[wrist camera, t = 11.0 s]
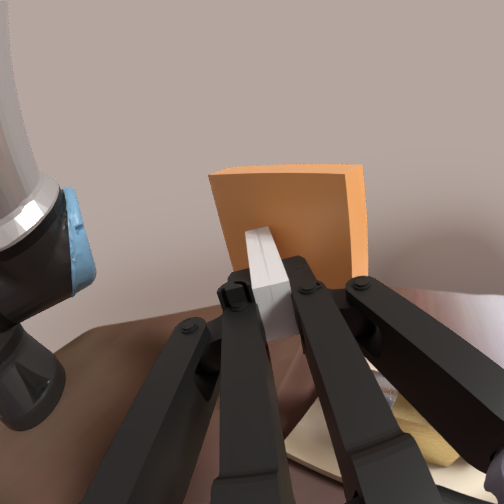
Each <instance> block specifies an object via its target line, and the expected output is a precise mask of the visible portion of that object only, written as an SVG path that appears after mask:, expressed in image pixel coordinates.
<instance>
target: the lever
mask: <svg viewBox="0 0 504 504" xmlns="http://www.w3.org/2000/svg"><path fill="white" fill-rule="evenodd" d="M208 177H209V181H210V184H211V188H212V192H213V196H214V200H215V204H216V207H217V211H218V215H219V219H220V223H221V226H222V230H223V234H224V238H225V241H226V245H227V248H228V252H229V256H230V260H231V263H232V267H233V270H234V272H235V271H239V270H243V269H247V268H249V260H248V252H247V244H246V236H245V231H249V230H253V229H257V228H262V227H266V226H268V227H269V230H270V232H271V235H272V237H273V240H274V242H275V245H276V248H277V250H278V253H279V255H280V258H281V259H285V258H289V257H293V256H297V255H299V256H301V257H303V258H305V259H306V261H307V263H308V265H309V266H310V268H311V270H312V272H313V274H314V275H315V277H316V279H317V280H318V281H321V282H323V283H324V284H325V286H326V287H327V288H328V289H345V284H346V283H347V281H348V280H350V279H351V278H354V277H357V276H368V234H367V212H366V198H365V185H364V174H363V165H351V164H350V165H348V164H285V165H284V164H283V165H257V166H239V167H229V168H226V169H223V170H221V171H218V172H215V173H212V174H210V175H208Z"/></svg>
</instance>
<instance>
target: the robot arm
mask: <svg viewBox="0 0 504 504" xmlns="http://www.w3.org/2000/svg"><path fill="white" fill-rule="evenodd" d="M245 236H246V244H247V252H248V260H249V268H247V269H243V270H239V271H235V272H232V273H231V274H230V276H229V277H228V282H227V283H225V284H223V285H222V286H221V287H220V288H219V289H218V290H217V295H218V298H219V301H220V303H221V306H222V309H223V314H222V315H221V316H220V317H218V318H216V319H214V320H212V321H210V322H208V323H206V322H205V320H204V319H202V318H200V317H192V318H188V319H185V320H183V321H182V322H180V323H179V324H178V325H177V326H176V327H175V329H174V331H173V332H172V334H171V336H170V338H169V339H168V341H167V343H166V345H165V346H164V348H163V350H162V352H161V353H160V355H159V357H158V359H157V360H156V362H155V364H154V366H153V368H152V369H151V371H150V373H149V375H148V377H147V378H146V380H145V382H144V384H143V386H142V387H141V389H140V391H139V393H138V395H137V397H136V398H135V400H134V402H133V404H132V406H131V408H130V410H129V411H128V413H127V415H126V417H125V419H124V421H123V423H122V424H121V426H120V428H119V430H118V432H117V434H116V436H115V438H114V440H113V442H112V444H111V445H110V447H109V449H108V451H107V453H106V455H105V457H104V459H103V461H102V463H101V465H100V467H99V469H98V471H97V473H96V475H95V477H94V479H93V481H92V483H91V485H90V487H89V489H88V491H87V493H86V495H85V497H84V499H83V500H82V501H81V502H80V503H79V504H183V501H184V498H185V495H186V492H187V489H188V486H189V483H190V480H191V477H192V474H193V471H194V468H195V465H196V462H197V459H198V456H199V453H200V450H201V447H202V444H203V441H204V438H205V435H206V432H207V429H208V426H209V423H210V419H211V416H212V413H213V410H214V407H215V404H216V401H217V398H218V395H219V392H220V471H219V476H218V477H217V478H216V479H215V480H214V481H213V483H212V488H211V504H296V503H295V499H294V495H293V490H292V485H291V479H290V473H289V466H288V460H287V454H286V448H285V442H284V436H283V430H282V424H281V418H280V412H279V406H278V400H277V394H276V388H275V382H274V376H273V370H272V364H271V358H270V352H269V348H268V344H267V342H268V341H272V340H276V339H281V338H285V337H289V336H293V335H297V334H299V333H300V336H301V342H302V348H303V353H304V354H305V355H306V358H307V361H308V364H309V368H310V371H311V374H312V377H313V381H314V384H315V387H316V391H317V394H318V397H319V401H320V404H321V407H322V411H323V414H324V418H325V421H326V424H327V428H328V431H329V435H330V438H331V442H332V445H333V449H334V452H335V456H336V459H337V463H338V466H339V470H340V474H341V477H342V481H343V487H344V493H345V498H346V502H347V503H345V504H495V503H492V502H488V501H485V500H481V499H478V498H475V497H472V496H469V495H466V494H463V493H460V492H457V491H454V490H452V489H449V488H446V487H444V486H441V485H437V484H435V482H434V480H433V477H432V475H431V473H430V470H429V468H428V466H427V464H426V461H425V459H424V457H423V455H422V453H421V451H420V448H419V446H418V444H417V442H416V441H415V439H414V437H413V436H412V435H411V434H410V433H406V432H403V431H402V430H401V429H400V427H399V425H398V423H397V421H396V419H395V417H394V414H393V412H392V410H391V408H390V406H389V404H388V402H387V400H386V398H385V396H384V394H383V392H382V390H381V388H380V386H379V384H378V382H377V380H376V378H375V376H374V374H373V372H372V370H371V368H370V366H369V364H368V362H367V360H368V361H369V362H370V363H371V364H372V365H373V366H374V367H375V368H376V369H377V370H378V371H379V372H380V373H381V374H382V375H383V376H384V377H385V378H386V379H387V380H388V381H389V383H390V384H391V385H392V386H393V387H394V388H395V389H396V390H397V391H398V392H399V393H400V394H401V395H402V396H403V397H404V398H405V399H406V400H407V401H408V402H409V403H410V404H411V405H412V406H413V407H414V408H415V409H416V410H417V411H418V412H419V414H420V415H421V416H422V417H423V418H424V419H425V420H426V421H427V422H428V423H429V424H430V425H431V426H432V427H433V428H434V429H435V430H436V431H437V432H438V433H439V434H440V435H441V436H442V437H443V439H444V440H445V441H446V442H447V443H448V444H449V445H450V446H451V447H452V448H453V449H454V450H455V451H456V452H457V453H458V454H459V455H460V456H461V457H462V458H463V459H464V460H465V461H466V462H467V463H468V464H470V465H471V466H473V467H474V468H476V469H477V470H479V471H480V472H483V473H485V474H486V478H485V481H484V489H485V491H487V492H491V493H492V494H493V495H494V496H495V497H496V499H497V501H498V504H504V369H503V368H501V367H500V366H499V365H498V364H496V363H495V362H494V361H492V360H491V359H490V358H488V357H487V356H486V355H484V354H483V353H482V352H480V351H479V350H478V349H476V348H475V347H474V346H472V345H471V344H470V343H468V342H467V341H465V340H464V339H463V338H461V337H460V336H459V335H457V334H456V333H454V332H453V331H452V330H450V329H449V328H447V327H446V326H445V325H443V324H442V323H440V322H439V321H437V320H436V319H435V318H433V317H432V316H430V315H429V314H427V313H426V312H424V311H423V310H422V309H420V308H419V307H417V306H416V305H414V304H413V303H411V302H410V301H408V300H407V299H405V298H404V297H402V296H401V295H399V294H398V293H396V292H395V291H393V290H392V289H390V288H389V287H387V286H386V285H384V284H383V283H381V282H380V281H378V280H376V279H375V278H373V277H370V276H357V277H354V278H351V279H350V280H348V281H347V283H346V284H345V289H328V288H327V287H326V286H325V284H324V283H323V282H321V281H318V280H317V279H316V277H315V275H314V274H313V272H312V270H311V268H310V266H309V265H308V263H307V261H306V259H305V258H303V257H301V256H299V255H297V256H293V257H289V258H285V259H281V258H280V255H279V253H278V250H277V248H276V245H275V242H274V240H273V237H272V235H271V232H270V230H269V227H268V226H266V227H262V228H257V229H253V230H249V231H245ZM95 277H96V267H95V263H94V259H93V256H92V253H91V249H90V246H89V242H88V239H87V236H86V232H85V229H84V225H83V221H82V216H81V212H80V208H79V204H78V200H77V197H76V192H75V190H74V188H71V187H70V188H63V189H62V190H61V189H60V186H59V184H58V181H57V179H56V178H55V177H54V176H53V175H51V174H49V173H45V172H41V171H39V170H38V167H37V164H36V161H35V158H34V155H33V152H32V149H31V146H30V143H29V139H28V136H27V132H26V129H25V125H24V122H23V118H22V114H21V110H20V106H19V101H18V96H17V91H16V86H15V81H14V75H13V68H12V61H11V53H10V43H9V29H8V0H0V420H1V421H2V422H3V423H4V424H5V425H6V426H7V427H8V428H10V429H12V430H16V431H23V430H27V429H30V428H32V427H34V426H36V425H37V424H39V423H40V422H41V421H43V420H44V419H45V418H46V417H47V416H48V415H49V414H50V412H51V411H52V410H53V409H54V407H55V406H56V404H57V402H58V401H59V399H60V397H61V394H62V392H63V389H64V385H65V370H64V368H63V366H62V364H61V363H60V362H59V360H58V359H57V358H56V356H55V355H54V354H53V353H52V352H51V351H49V350H48V349H47V348H45V347H44V346H43V345H41V344H40V343H39V342H38V341H36V340H35V339H34V338H33V337H32V336H30V335H29V334H28V333H27V332H26V331H25V330H24V329H23V327H22V326H21V324H20V323H21V322H23V321H24V320H26V319H28V318H30V317H32V316H34V315H36V314H38V313H40V312H42V311H44V310H46V309H48V308H50V307H52V306H54V305H56V304H58V303H60V302H62V301H64V300H66V299H68V298H70V297H73V296H75V294H76V293H77V292H79V291H80V290H82V289H84V288H86V287H87V286H89V285H91V284H92V282H93V281H94V280H95ZM365 358H366V359H367V360H366V359H365Z"/></svg>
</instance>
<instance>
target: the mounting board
mask: <svg viewBox="0 0 504 504" xmlns="http://www.w3.org/2000/svg"><path fill="white" fill-rule="evenodd" d="M365 359H366V358H365ZM366 360H367V359H366ZM367 362H368V364H369V366H370V368H371V369H372V370H375V371H378V370H377V369H376V368H375V367H374V366H373V365H372V364H371V363H370V362H369V361H368V360H367ZM378 372H379V371H378ZM284 442H285V448H286V454H287V457H288V458H290V459H292V460H293V461H295V462H297V463H299V464H302V465H304V466H306V467H308V468H310V469H312V470H314V471H316V472H318V473H321V474H323V475H325V476H327V477H330V478H332V479H335V480H337V481H339V482H342V483H343V481H342V477H341V474H340V470H339V466H338V463H337V459H336V456H335V452H334V449H333V445H332V442H331V438H330V435H329V431H328V428H327V424H326V421H325V418H324V414H323V411H322V407H321V404H320V401H319V397H318V398H317V399H316V400H315V402H314V403H313V404H312V406H311V407H310V409H309V410H308V411H307V413H306V414H305V415H304V416H303V418H302V419H301V420H300V422H299V423H298V424H297V426H296V427H295V428H294V429H293V431H292V432H291V433H290V434H289V435H288V437H287V438H286V439H285V440H284ZM426 464H427V466H428V468H429V470H430V473H431V475H432V477H433V480H434V482H435V484H437V485H441V486H444V487H446V488H449V489H452V490H454V491H457V492H460V493H463V494H466V495H469V496H472V497H475V498H478V499H481V500H485V501H488V502H492V503H495V504H498V501H497V499H496V497H495V496H494V495H493V494H492V493H491V492H487V491H485V489H484V481H485V478H486V474H485V473H483V472H480V471H479V470H477V469H476V468H474V467H473V466H471V465H470V464H468V463H467V462H466V461H465V460H464V459H463V458H462V457H461V456H459V457H458V458H457V459H456V460H455V461H454V462H453V463H452V464H451V465H450V466H448V467H445V466H440V465H436V464H431V463H427V462H426Z"/></svg>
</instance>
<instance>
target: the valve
mask: <svg viewBox="0 0 504 504" xmlns="http://www.w3.org/2000/svg"><path fill="white" fill-rule="evenodd" d="M371 370H372V369H371ZM372 372H373V374H374V376H375V378H376V380H377V382H378V384H379V386H380V388H381V390H382V392H383V394H384V396H385V398H386V400H387V402H388V404H389V406H390V408H391V410H392V412H393V414H394V417H395V419H396V421H397V423H398V425H399V427H400V429H401V430H402V431H403V432H406V433H410V434H411V435H412V436H413V437H414V439H415V441H416V442H417V444H418V446H419V448H420V451H421V453H422V455H423V457H424V459H425V461H426V462H427V463H431V464H436V465H440V466H445V467H448V466H450V465H451V464H452V463H453V462H454V461H455V460H456V459H457V458H458V457H459V456H460V455H459V454H458V453H457V452H456V451H455V450H454V449H453V448H452V447H451V446H450V445H449V444H448V443H447V442H446V441H445V440H444V439H443V437H442V436H441V435H440V434H439V433H438V432H437V431H436V430H435V429H434V428H433V427H432V426H431V425H430V424H429V423H428V422H427V421H426V420H425V419H424V418H423V417H422V416H421V415H420V414H419V412H418V411H417V410H416V409H415V408H414V407H413V406H412V405H411V404H410V403H409V402H408V401H407V400H406V399H405V398H404V397H403V396H402V395H401V394H400V393H399V392H398V391H397V390H396V389H395V388H394V387H393V386H392V385H391V384H390V383H389V381H388V380H387V379H386V378H385V377H384V376H383V375H382V374H381V373H380V372H378V371H375V370H372Z"/></svg>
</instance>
